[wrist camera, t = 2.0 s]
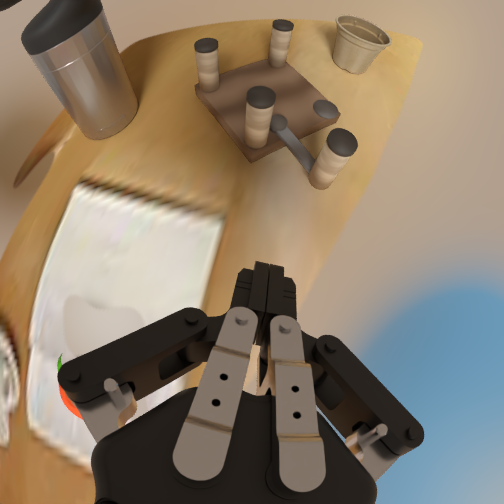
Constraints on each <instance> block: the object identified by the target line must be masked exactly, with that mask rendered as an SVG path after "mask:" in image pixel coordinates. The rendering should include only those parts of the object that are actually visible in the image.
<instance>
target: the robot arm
mask: <svg viewBox="0 0 504 504" xmlns="http://www.w3.org/2000/svg"><path fill="white" fill-rule="evenodd" d="M20 1H21V0H0V11H3V10H6V9H8V8H10V7H11V6H13V5H15V4H16V3H18V2H20ZM21 40H22V44H23V45H24V47H25V49H26V51H27V52H28V53H29V55H30V57H31V59H32V60H33V62H34V63H35V65H36V66H37V68H38V69H39V71H40V72H41V74H42V75H43V77H44V78H45V80H46V81H47V83H48V84H49V86H50V87H51V89H52V90H53V92H54V93H55V95H56V96H57V97H58V99H59V100H60V102H61V103H62V105H63V106H64V107H65V109H66V110H67V112H68V113H69V114H70V116H71V117H72V119H73V120H74V121H75V123H76V124H77V125H78V127H79V128H80V129H81V131H82V132H83V133H84V135H85V136H86V137H88V138H90V139H93V140H100V139H105V138H108V137H110V136H112V135H114V134H116V133H118V132H119V131H121V130H122V129H124V128H125V127H126V126H127V125H128V124H129V123H130V122H131V120H132V119H133V118H134V116H135V114H136V112H137V109H138V102H137V98H136V96H135V93H134V91H133V88H132V86H131V83H130V80H129V78H128V75H127V73H126V70H125V68H124V65H123V62H122V60H121V57H120V54H119V52H118V49H117V46H116V44H115V41H114V38H113V35H112V33H111V30H110V27H109V25H108V22H107V19H106V16H105V13H104V10H103V6H102V3H101V1H100V0H50V1H49V3H48V4H47V5H46V6H45V7H44V8H43V9H42V10H41V11H40V12H39V13H38V14H37V15H36V16H35V17H34V18H33V19H32V20H31V22H30V23H29V24H28V25H27V26H26V28H25V29H24V31H23V33H22V37H21ZM255 340H256V344H255V345H259V346H261V347H260V353H259V356H258V359H257V392H256V395H252V394H250V393H247V392H245V391H243V390H242V389H243V385H244V381H245V377H246V373H247V368H248V364H249V360H250V353H251V348H252V344H253V345H254V343H255ZM202 362H207V364H206V367H205V370H204V372H203V375H202V378H201V381H200V383H199V386H198V387H193V388H189V389H186V390H183V391H181V392H179V393H177V394H175V395H174V396H172V397H171V398H169V399H167V400H166V401H164V402H163V403H161V404H160V405H158V406H156V407H155V408H153V409H151V410H150V411H148V412H147V413H145V414H143V415H142V416H140V417H138V418H137V419H135V420H133V421H132V422H130V423H128V424H126V425H125V423H126V422H127V421H128V420H129V419H130V418H131V417H133V415H134V414H135V413H136V410H137V403H136V401H138V400H140V399H142V398H143V397H145V396H147V395H149V394H151V393H153V392H154V391H156V390H158V389H160V388H162V387H163V386H165V385H167V384H169V383H170V382H172V381H174V380H175V379H177V378H179V377H181V376H182V375H184V374H186V373H187V372H189V371H191V370H192V369H194V368H196V367H197V366H199V365H200V364H201V363H202ZM57 377H58V382H59V384H60V386H61V387H62V389H63V390H64V391H65V393H66V395H67V397H68V398H69V399H70V401H71V402H72V403H73V405H74V406H75V407H76V408H77V409H78V411H79V413H80V415H81V416H82V418H83V420H84V422H85V424H86V425H87V427H88V429H89V431H90V432H91V434H92V436H93V437H94V439H95V441H96V442H97V445H96V446H95V448H94V450H93V452H92V457H91V467H92V471H93V475H94V479H95V486H96V498H95V503H94V504H375V501H376V497H377V487H376V483H375V482H376V481H377V480H378V479H379V478H380V477H381V476H382V475H383V474H384V473H385V471H387V470H388V469H389V468H390V466H391V465H392V464H393V463H394V462H395V461H396V460H397V459H398V458H399V457H400V456H402V455H404V454H406V453H407V452H409V451H411V450H412V449H414V448H416V447H418V446H419V445H420V444H421V443H422V442H423V439H424V430H423V428H422V426H421V424H420V423H419V422H418V421H417V420H416V419H415V418H414V417H413V416H412V415H411V414H410V413H409V412H408V411H407V410H406V409H405V407H404V406H403V405H402V404H401V403H400V402H399V401H398V400H397V399H396V398H395V397H394V396H393V395H392V394H391V393H390V392H389V391H388V390H387V389H386V388H385V386H383V384H382V383H381V382H380V381H379V380H378V379H377V378H376V377H375V376H374V375H373V374H372V373H371V372H370V371H369V370H368V369H367V368H366V367H365V366H364V365H363V363H362V362H361V361H360V360H359V359H358V358H357V357H356V356H355V355H354V354H353V353H352V352H351V351H350V350H349V349H348V348H347V347H346V346H345V345H344V344H343V343H342V341H340V340H339V339H338V338H336V337H334V336H332V335H323V336H321V337H319V338H318V339H316V338H314V337H312V336H310V335H308V334H306V333H304V332H303V331H302V330H301V327H300V325H299V323H298V322H297V312H296V285H295V283H294V282H293V280H292V278H288V277H284V267H282V266H277V265H273V264H270V266H269V264H268V263H263V262H259V261H255V265H254V269H253V270H250V269H245V268H243V269H242V270H241V271H240V272H239V273H238V277H237V281H236V285H235V289H234V293H233V297H232V302H231V306H230V309H229V310H228V311H227V312H226V313H225V314H223V315H221V316H216V317H207V315H206V314H205V313H204V312H203V311H202V310H200V309H197V308H191V307H189V308H184V309H182V310H179V311H177V312H175V313H173V314H171V315H169V316H167V317H165V318H163V319H160V320H158V321H156V322H154V323H152V324H150V325H148V326H146V327H143V328H141V329H139V330H137V331H135V332H133V333H130V334H128V335H126V336H124V337H122V338H120V339H117V340H115V341H113V342H111V343H109V344H107V345H104V346H102V347H100V348H98V349H95V350H93V351H91V352H89V353H86V354H84V355H82V356H80V357H77V358H75V359H73V360H71V361H68V362H66V363H65V364H63V365H62V366H61V367H60V369H59V371H58V376H57ZM337 384H338V385H337ZM316 405H317V407H318V408H319V409H320V410H321V411H322V413H323V414H324V415H325V416H326V417H327V418H328V420H329V421H330V422H331V423H332V424H333V425H334V427H335V428H336V429H337V430H338V431H339V432H340V433H341V435H342V436H343V437H344V438H345V439H346V441H345V443H344V442H343V441H342V440H341V438H340V437H339V436H338V435H337V433H336V432H335V431H334V430H333V428H332V427H331V426H330V425H329V423H328V422H327V421H326V420H325V418H324V417H323V416H322V415H321V414H320V413H319V412H318V411H316ZM124 425H125V426H124Z"/></svg>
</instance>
